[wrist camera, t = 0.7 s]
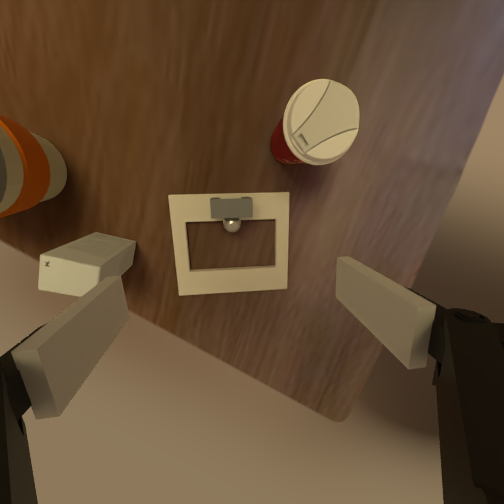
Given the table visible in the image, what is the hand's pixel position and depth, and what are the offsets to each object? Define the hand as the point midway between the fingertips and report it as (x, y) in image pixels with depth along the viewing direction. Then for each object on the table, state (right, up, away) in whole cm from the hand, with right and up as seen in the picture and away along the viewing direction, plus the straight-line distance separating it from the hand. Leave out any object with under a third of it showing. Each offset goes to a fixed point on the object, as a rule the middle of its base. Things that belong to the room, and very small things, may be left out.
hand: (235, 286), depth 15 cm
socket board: (-2, +3, +24) cm, 25 cm away
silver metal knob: (-2, +7, +21) cm, 22 cm away
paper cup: (+6, +18, +21) cm, 29 cm away
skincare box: (-20, +3, +23) cm, 31 cm away
